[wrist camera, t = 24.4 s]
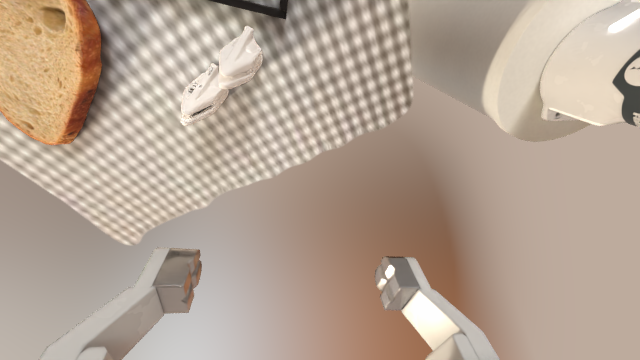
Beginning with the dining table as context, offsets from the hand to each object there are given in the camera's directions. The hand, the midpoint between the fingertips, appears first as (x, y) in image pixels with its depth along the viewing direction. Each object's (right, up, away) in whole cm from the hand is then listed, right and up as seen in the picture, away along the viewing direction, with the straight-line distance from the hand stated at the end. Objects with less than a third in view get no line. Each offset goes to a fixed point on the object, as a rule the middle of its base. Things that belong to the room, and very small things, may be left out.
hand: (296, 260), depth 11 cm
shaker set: (-11, +19, +21) cm, 30 cm away
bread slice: (-32, +18, +19) cm, 41 cm away
